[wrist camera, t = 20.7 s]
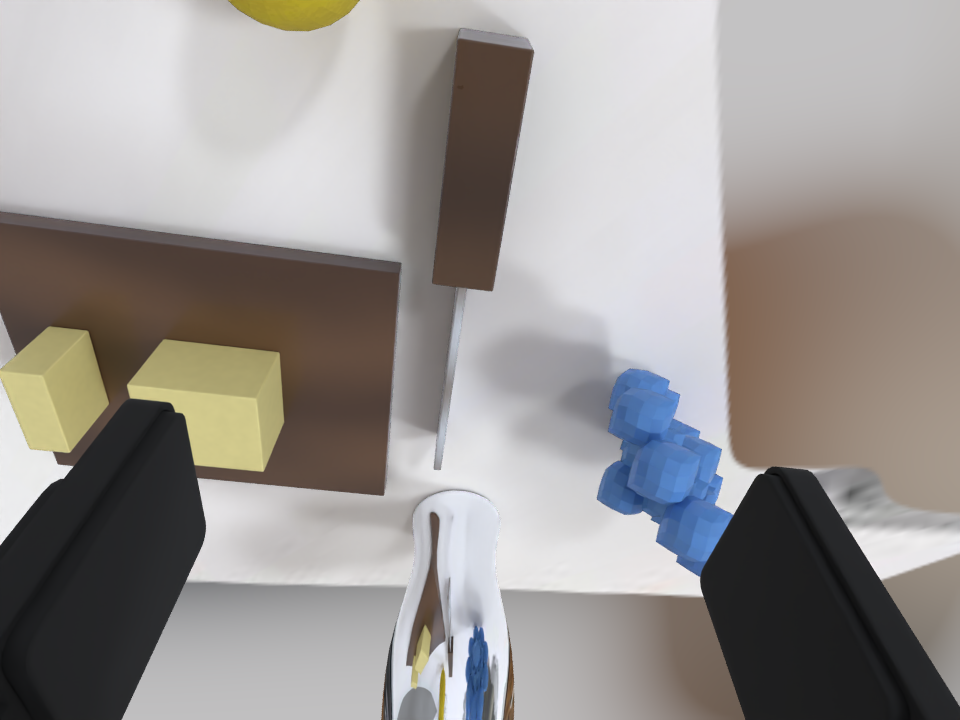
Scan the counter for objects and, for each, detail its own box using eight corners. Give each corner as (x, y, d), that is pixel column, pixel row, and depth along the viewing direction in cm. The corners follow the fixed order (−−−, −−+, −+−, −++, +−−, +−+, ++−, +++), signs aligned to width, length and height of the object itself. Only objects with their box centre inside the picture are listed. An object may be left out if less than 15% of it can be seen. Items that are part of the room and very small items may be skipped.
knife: (460, 27, 24) (457, 37, 21) (528, 38, 24) (534, 50, 21) (417, 432, 36) (412, 470, 34) (462, 437, 36) (461, 475, 34)
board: (-19, 208, 28) (-37, 218, 27) (402, 262, 30) (399, 273, 29) (68, 451, 37) (57, 465, 36) (386, 482, 39) (384, 496, 38)
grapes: (533, 356, 33) (555, 531, 23) (646, 300, 31) (723, 466, 21) (620, 480, 39) (667, 662, 29) (721, 439, 37) (808, 621, 27)
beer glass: (434, 471, 38) (411, 720, 26) (525, 506, 40) (545, 754, 28) (390, 532, 42) (351, 777, 29) (476, 561, 44) (474, 803, 31)
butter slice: (48, 325, 30) (-4, 371, 27) (89, 330, 31) (42, 376, 27) (73, 400, 33) (28, 449, 30) (110, 404, 33) (70, 453, 30)
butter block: (163, 338, 31) (125, 385, 28) (280, 351, 31) (256, 399, 28) (178, 410, 34) (145, 461, 30) (284, 422, 34) (263, 472, 31)
